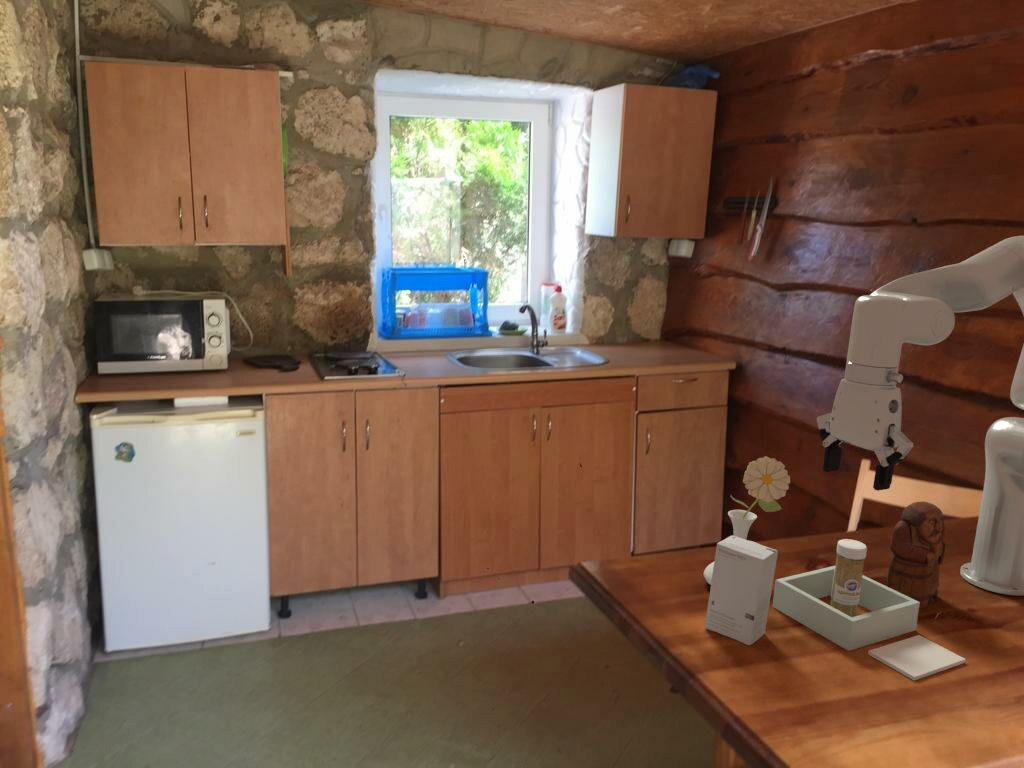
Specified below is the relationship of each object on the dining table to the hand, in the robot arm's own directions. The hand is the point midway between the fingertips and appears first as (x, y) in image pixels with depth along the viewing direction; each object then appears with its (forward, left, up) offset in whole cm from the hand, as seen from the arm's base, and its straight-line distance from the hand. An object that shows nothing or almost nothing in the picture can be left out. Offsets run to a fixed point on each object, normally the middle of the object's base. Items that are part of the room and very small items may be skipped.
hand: (855, 479), depth 133 cm
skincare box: (+18, -5, -25) cm, 31 cm away
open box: (-2, -1, -25) cm, 25 cm away
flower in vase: (+6, -17, -25) cm, 31 cm away
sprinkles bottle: (-2, -1, -25) cm, 25 cm away
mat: (-2, +13, -25) cm, 28 cm away
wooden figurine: (-20, -1, -25) cm, 32 cm away
